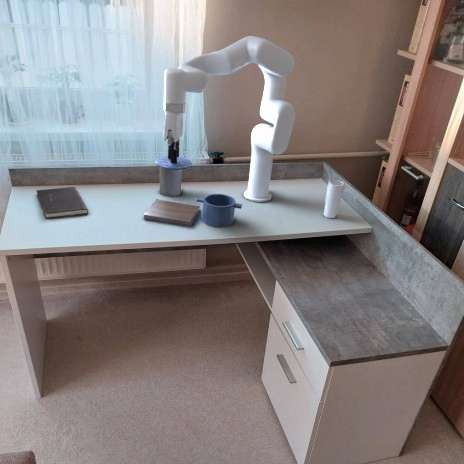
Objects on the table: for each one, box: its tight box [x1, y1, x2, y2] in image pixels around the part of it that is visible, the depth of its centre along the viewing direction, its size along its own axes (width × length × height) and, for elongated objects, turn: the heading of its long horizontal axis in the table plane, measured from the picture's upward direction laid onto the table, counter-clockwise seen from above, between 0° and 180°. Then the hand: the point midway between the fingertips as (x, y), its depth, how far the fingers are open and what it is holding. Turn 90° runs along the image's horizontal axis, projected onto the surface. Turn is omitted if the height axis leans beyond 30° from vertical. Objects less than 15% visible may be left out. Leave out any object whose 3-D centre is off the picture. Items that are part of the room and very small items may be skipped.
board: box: [143, 198, 201, 227], centre depth 196 cm, size 16×19×2 cm
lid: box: [154, 147, 192, 171], centre depth 182 cm, size 14×14×7 cm
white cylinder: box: [323, 179, 345, 219], centre depth 204 cm, size 7×7×15 cm
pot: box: [195, 193, 243, 228], centre depth 194 cm, size 13×18×8 cm
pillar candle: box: [159, 167, 183, 197], centre depth 210 cm, size 10×10×15 cm
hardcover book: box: [35, 186, 89, 220], centre depth 195 cm, size 16×23×2 cm
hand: (173, 157), depth 182 cm, fingers closed on lid, 2 cm apart
